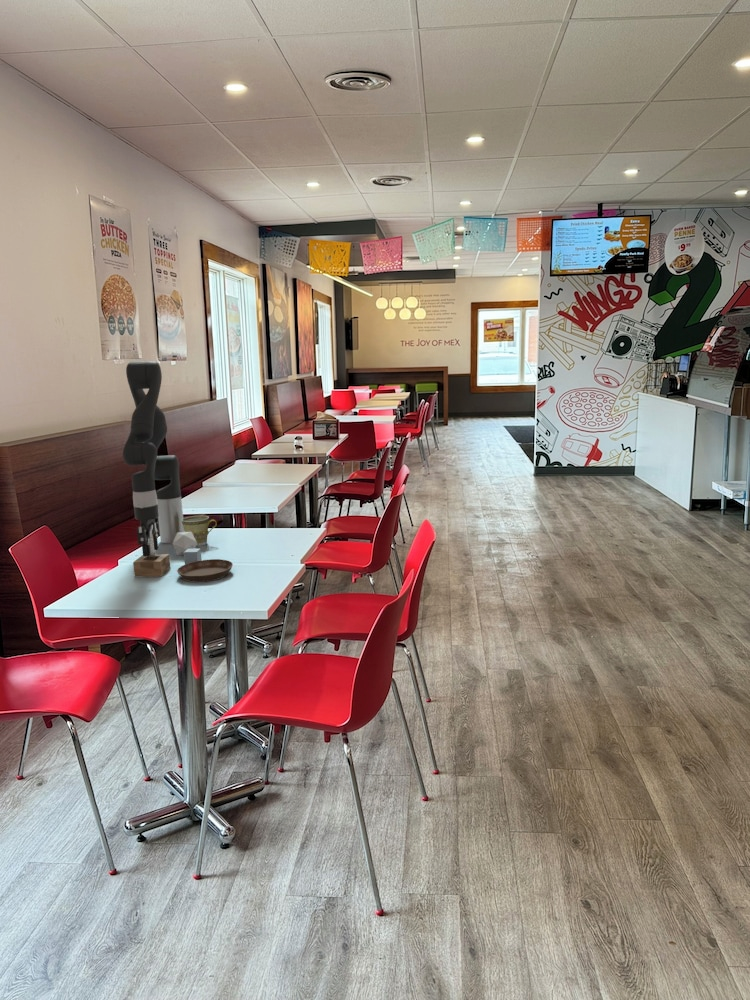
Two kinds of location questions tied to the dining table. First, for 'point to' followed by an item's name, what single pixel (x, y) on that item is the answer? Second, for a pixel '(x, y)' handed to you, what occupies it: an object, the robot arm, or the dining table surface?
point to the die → (184, 542)
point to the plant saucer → (205, 570)
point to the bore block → (151, 566)
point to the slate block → (192, 555)
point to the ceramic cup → (198, 527)
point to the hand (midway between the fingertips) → (150, 552)
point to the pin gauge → (151, 549)
